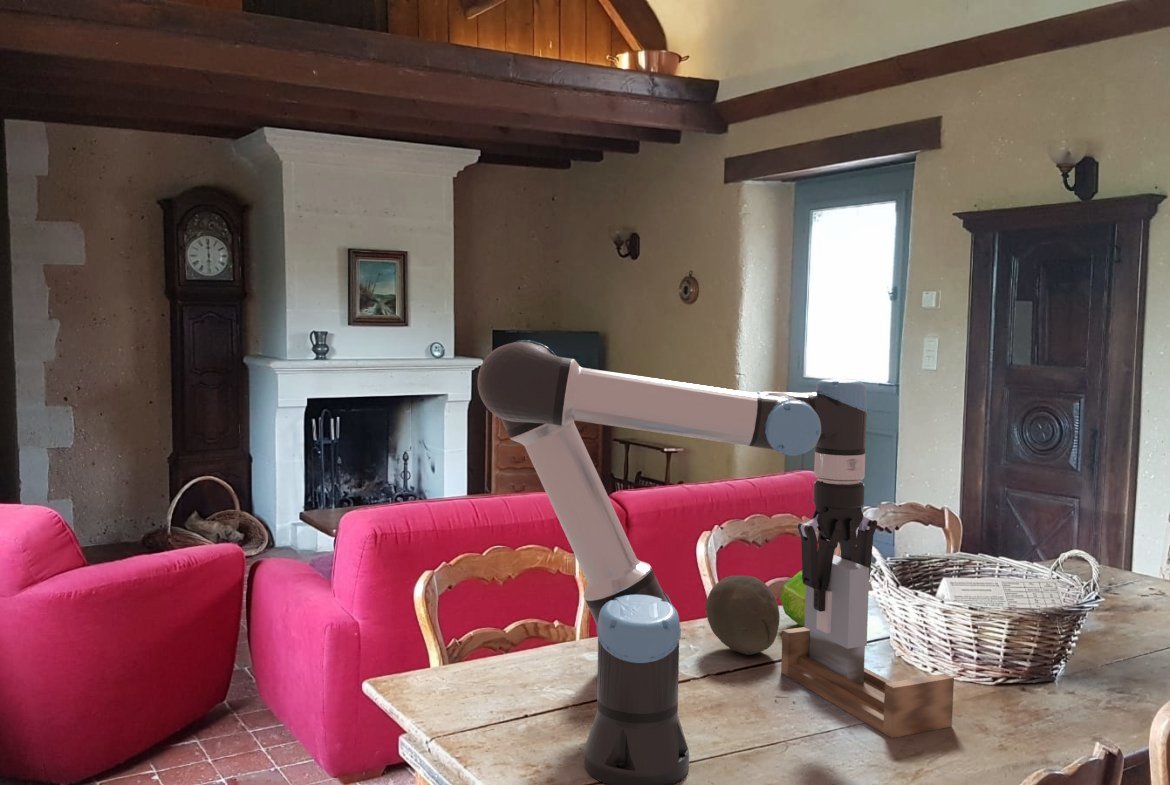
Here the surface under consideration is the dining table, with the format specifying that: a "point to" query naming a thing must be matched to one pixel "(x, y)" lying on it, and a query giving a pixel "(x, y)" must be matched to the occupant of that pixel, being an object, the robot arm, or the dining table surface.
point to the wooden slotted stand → (866, 686)
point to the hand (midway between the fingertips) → (834, 628)
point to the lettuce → (794, 599)
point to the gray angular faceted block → (843, 604)
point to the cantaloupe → (743, 614)
